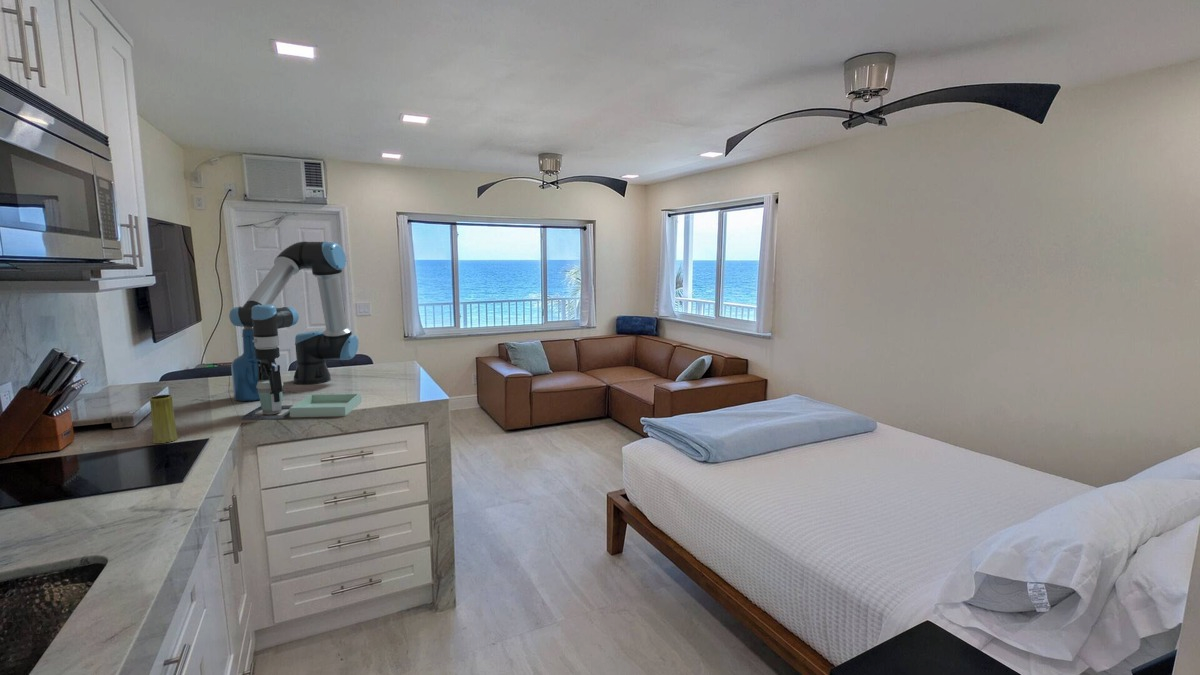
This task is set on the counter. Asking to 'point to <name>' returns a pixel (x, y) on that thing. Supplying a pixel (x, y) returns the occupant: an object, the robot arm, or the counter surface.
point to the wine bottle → (246, 370)
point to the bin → (325, 405)
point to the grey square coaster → (249, 415)
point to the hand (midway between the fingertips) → (271, 407)
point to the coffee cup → (267, 396)
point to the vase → (163, 419)
